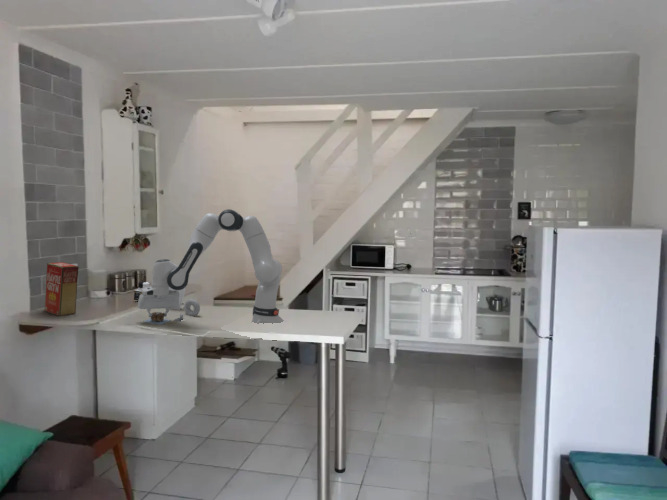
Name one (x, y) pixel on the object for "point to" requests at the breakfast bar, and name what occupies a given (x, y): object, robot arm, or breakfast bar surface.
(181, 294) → the cup
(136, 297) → the medicine bottle
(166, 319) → the hub
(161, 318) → the ring
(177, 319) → the stand
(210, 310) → the breakfast bar surface
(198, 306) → the donut
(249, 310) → the breakfast bar surface
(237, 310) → the breakfast bar surface
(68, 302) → the food packaging
